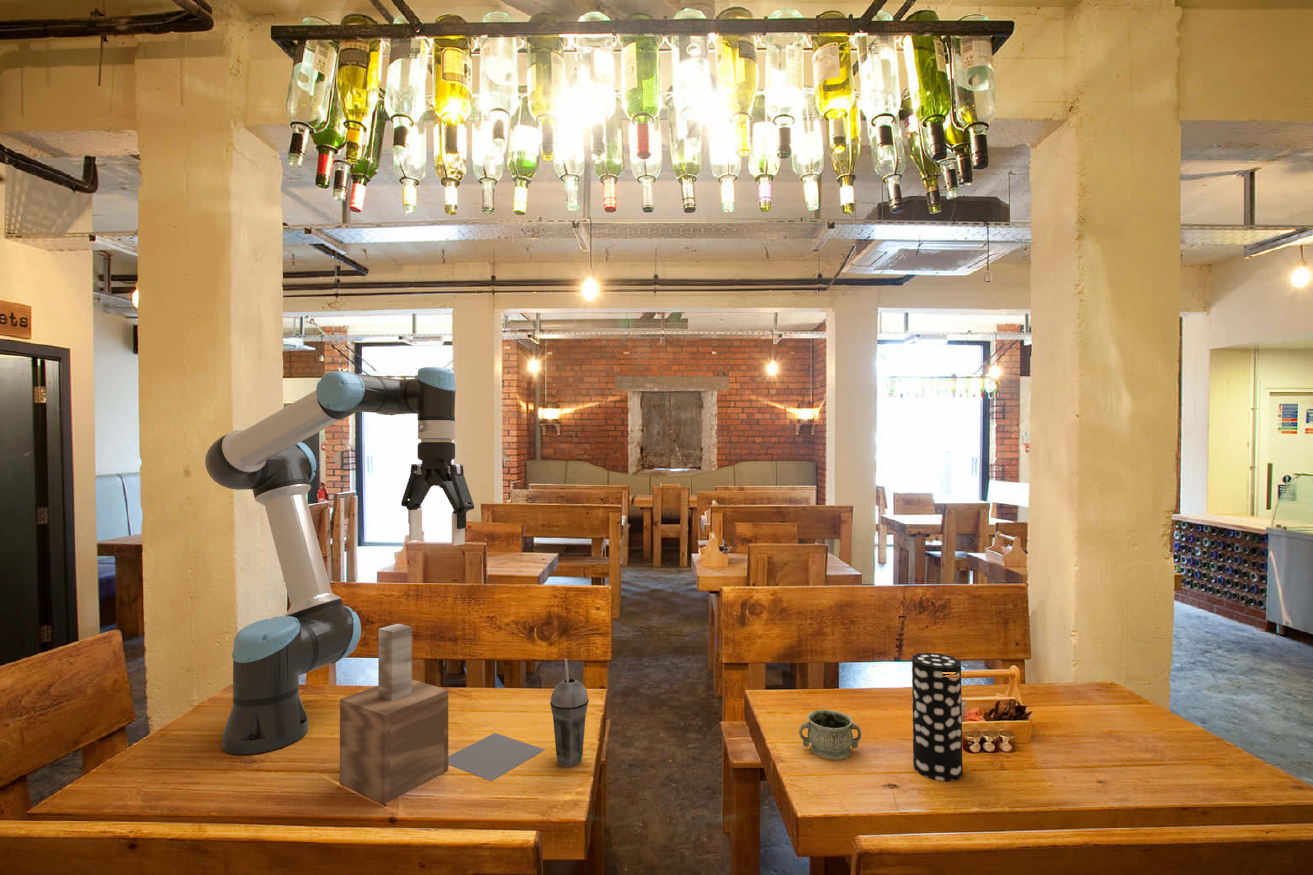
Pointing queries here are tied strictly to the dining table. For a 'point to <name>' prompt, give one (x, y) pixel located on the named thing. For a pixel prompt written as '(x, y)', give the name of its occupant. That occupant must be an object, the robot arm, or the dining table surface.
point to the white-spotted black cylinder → (937, 716)
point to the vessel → (830, 734)
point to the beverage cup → (569, 719)
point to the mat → (493, 756)
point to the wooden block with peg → (393, 726)
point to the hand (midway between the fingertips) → (436, 542)
